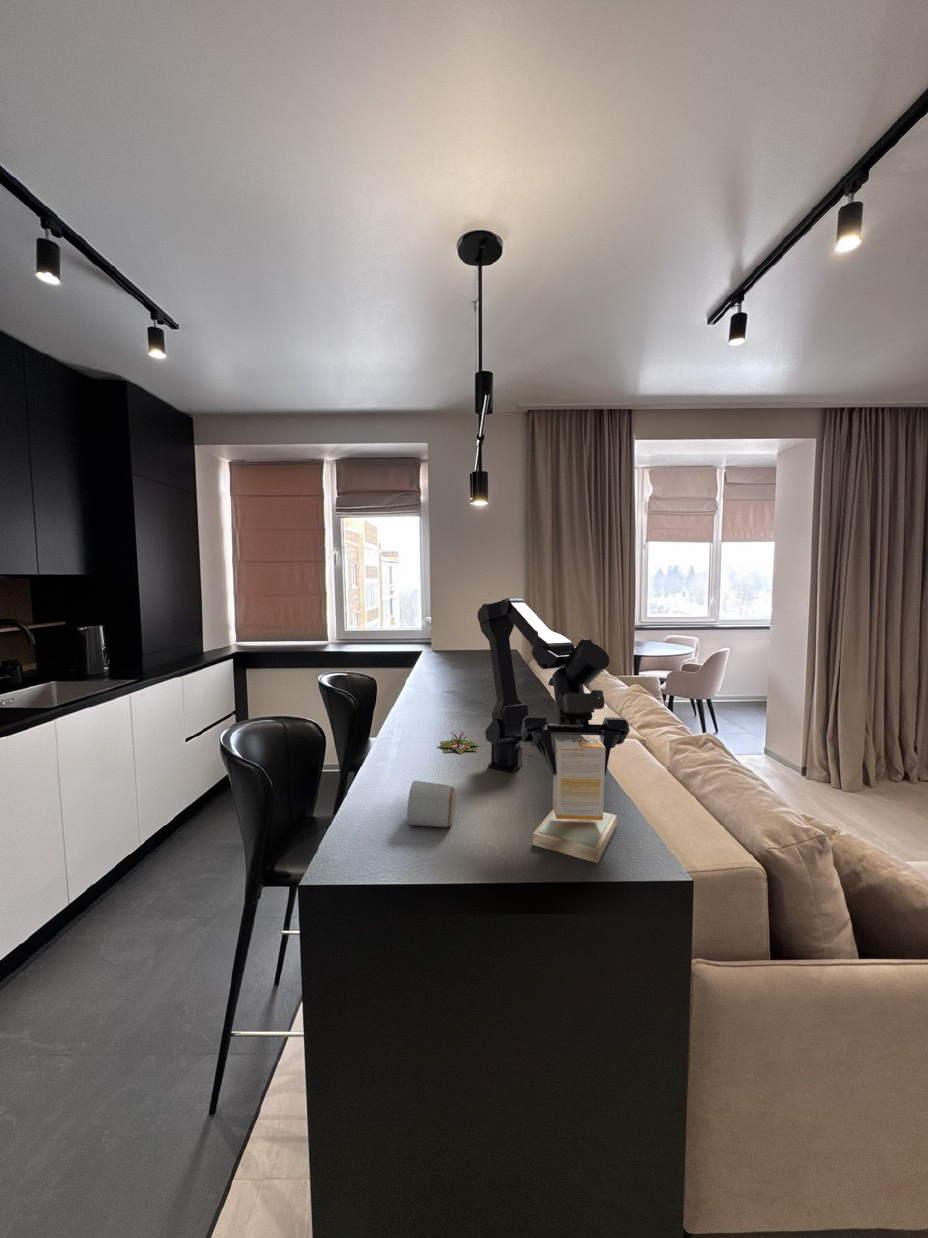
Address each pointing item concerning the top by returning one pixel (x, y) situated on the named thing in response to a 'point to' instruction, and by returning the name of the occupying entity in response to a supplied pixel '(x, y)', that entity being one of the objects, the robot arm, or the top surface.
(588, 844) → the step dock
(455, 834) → the top surface
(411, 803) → the ceramic mug
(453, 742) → the lily flower
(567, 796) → the supplement box
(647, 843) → the top surface
